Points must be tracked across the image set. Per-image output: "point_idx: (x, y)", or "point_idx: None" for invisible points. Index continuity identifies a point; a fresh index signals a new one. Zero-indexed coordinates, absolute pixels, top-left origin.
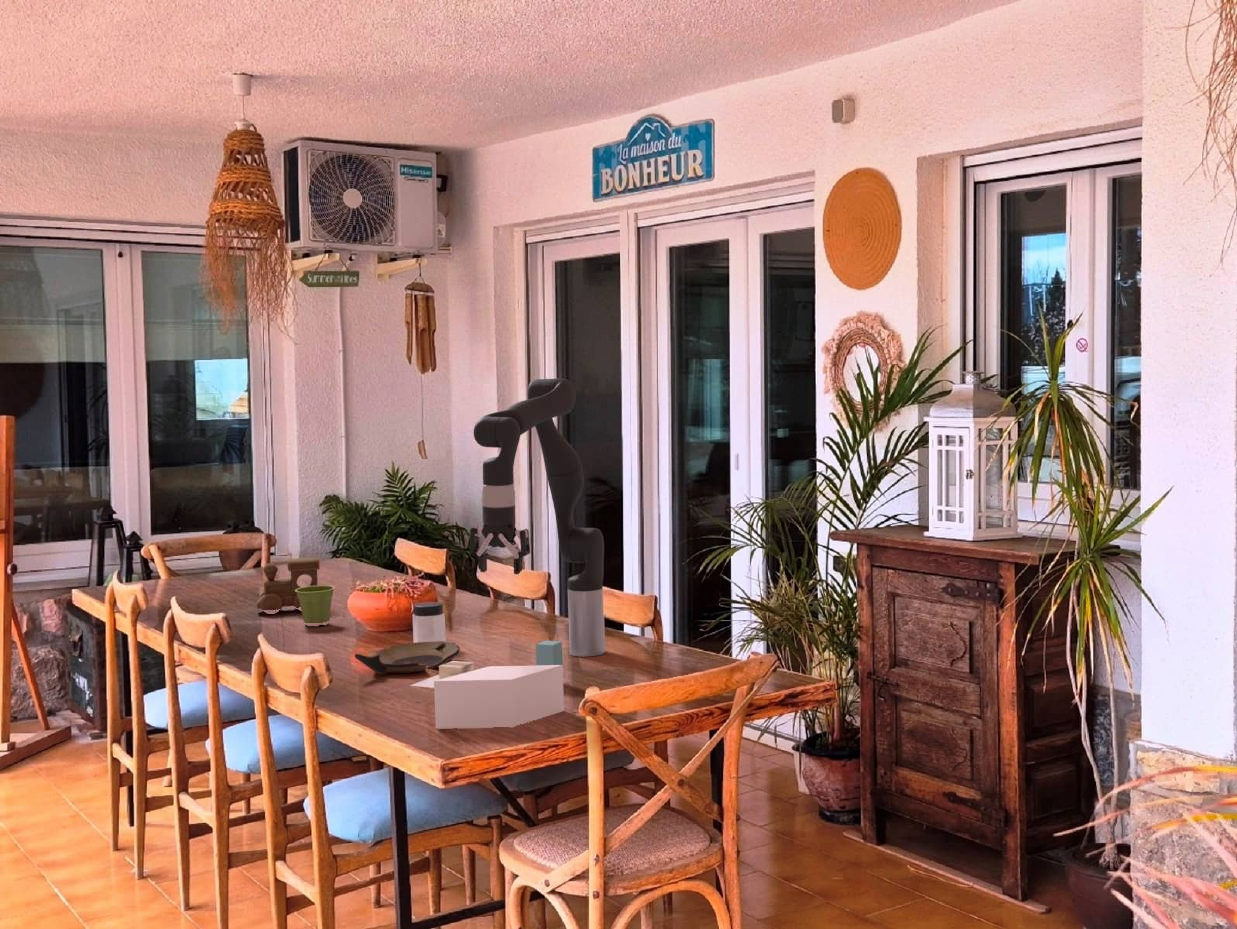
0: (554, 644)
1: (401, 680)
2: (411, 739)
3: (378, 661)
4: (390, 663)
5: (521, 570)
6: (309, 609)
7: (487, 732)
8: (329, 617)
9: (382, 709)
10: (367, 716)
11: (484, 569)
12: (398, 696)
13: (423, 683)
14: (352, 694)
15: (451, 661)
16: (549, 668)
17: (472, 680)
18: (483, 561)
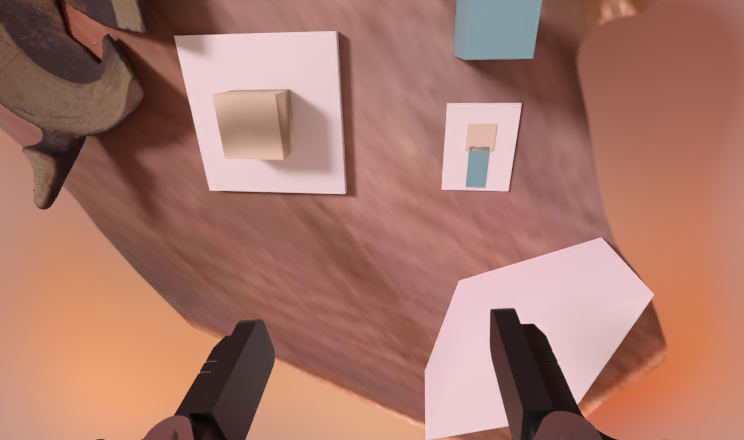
0: (534, 41)
1: (134, 123)
2: (422, 411)
3: (69, 158)
4: (6, 35)
5: (535, 331)
6: None
7: None
8: None
9: (276, 308)
10: (286, 342)
11: (265, 353)
12: (234, 235)
13: (219, 166)
14: (154, 245)
15: (215, 104)
16: (627, 330)
17: (493, 428)
18: (247, 412)
